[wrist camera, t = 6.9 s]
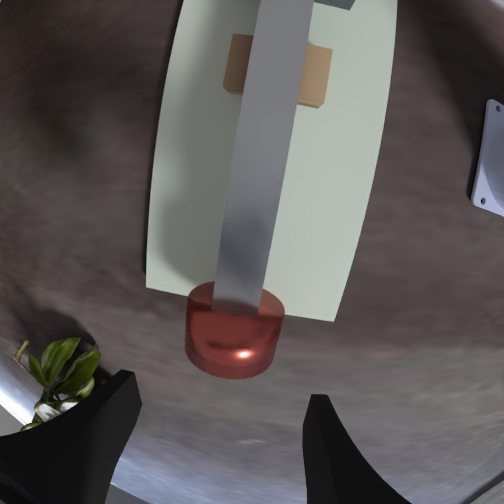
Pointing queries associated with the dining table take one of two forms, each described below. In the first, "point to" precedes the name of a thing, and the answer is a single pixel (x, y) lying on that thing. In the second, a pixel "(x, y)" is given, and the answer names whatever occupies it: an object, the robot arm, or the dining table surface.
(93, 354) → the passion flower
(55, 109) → the dining table surface
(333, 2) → the block
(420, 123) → the dining table surface
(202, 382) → the dining table surface
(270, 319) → the rod
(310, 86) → the brown rectangular block
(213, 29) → the board
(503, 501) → the plate stack
